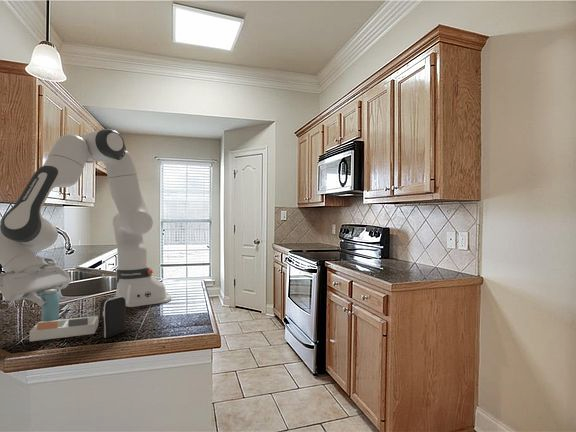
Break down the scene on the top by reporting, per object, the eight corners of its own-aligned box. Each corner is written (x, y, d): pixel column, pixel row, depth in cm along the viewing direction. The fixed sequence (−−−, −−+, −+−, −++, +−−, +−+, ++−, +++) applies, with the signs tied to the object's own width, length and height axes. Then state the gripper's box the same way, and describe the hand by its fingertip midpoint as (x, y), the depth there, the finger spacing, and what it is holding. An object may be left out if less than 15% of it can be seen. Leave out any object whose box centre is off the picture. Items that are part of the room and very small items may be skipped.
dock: (98, 324, 113) (98, 309, 113) (94, 333, 104) (94, 317, 104) (38, 331, 106) (38, 315, 106) (29, 341, 98) (29, 324, 98)
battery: (118, 330, 108) (117, 294, 108) (126, 331, 106) (126, 295, 106) (97, 337, 101) (97, 299, 101) (106, 339, 100) (106, 300, 100)
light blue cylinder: (60, 316, 107) (60, 288, 107) (57, 320, 103) (57, 291, 103) (43, 318, 105) (44, 289, 105) (39, 322, 101) (39, 292, 101)
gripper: (-3, 267, 95) (26, 304, 93) (59, 258, 115) (84, 288, 113) (-16, 282, 96) (13, 319, 94) (47, 271, 116) (72, 300, 114)
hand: (52, 302), depth 104 cm, fingers closed on light blue cylinder, 4 cm apart
